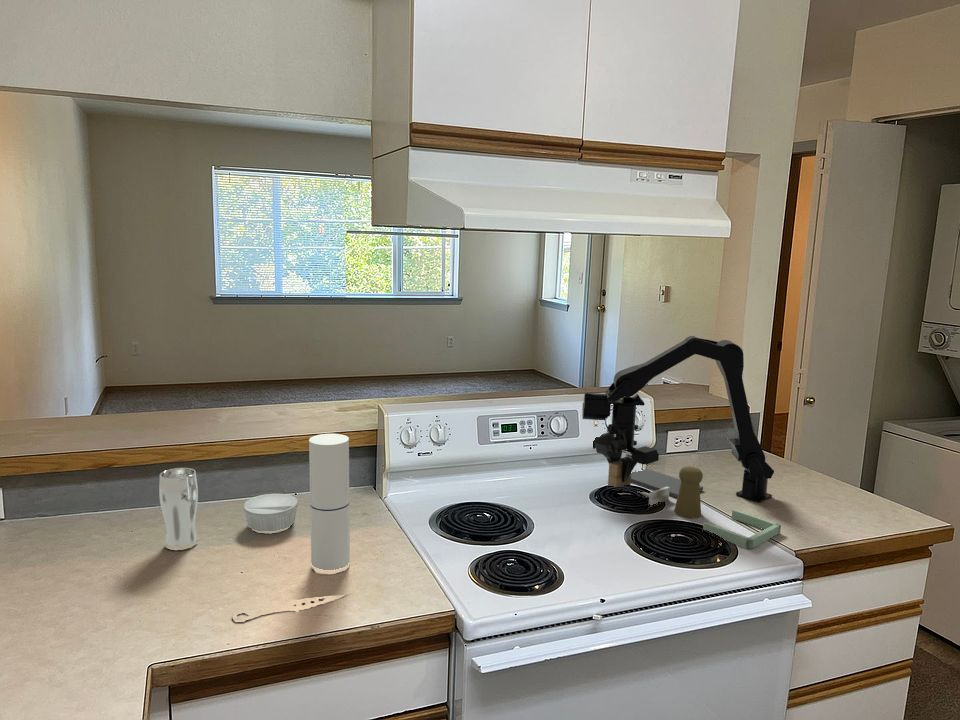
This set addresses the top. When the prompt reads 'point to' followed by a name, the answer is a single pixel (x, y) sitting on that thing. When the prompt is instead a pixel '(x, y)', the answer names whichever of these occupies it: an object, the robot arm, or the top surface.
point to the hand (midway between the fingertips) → (619, 480)
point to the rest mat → (657, 481)
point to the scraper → (616, 481)
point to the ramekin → (270, 512)
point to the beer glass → (179, 505)
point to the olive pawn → (689, 493)
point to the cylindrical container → (329, 501)
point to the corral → (744, 541)
